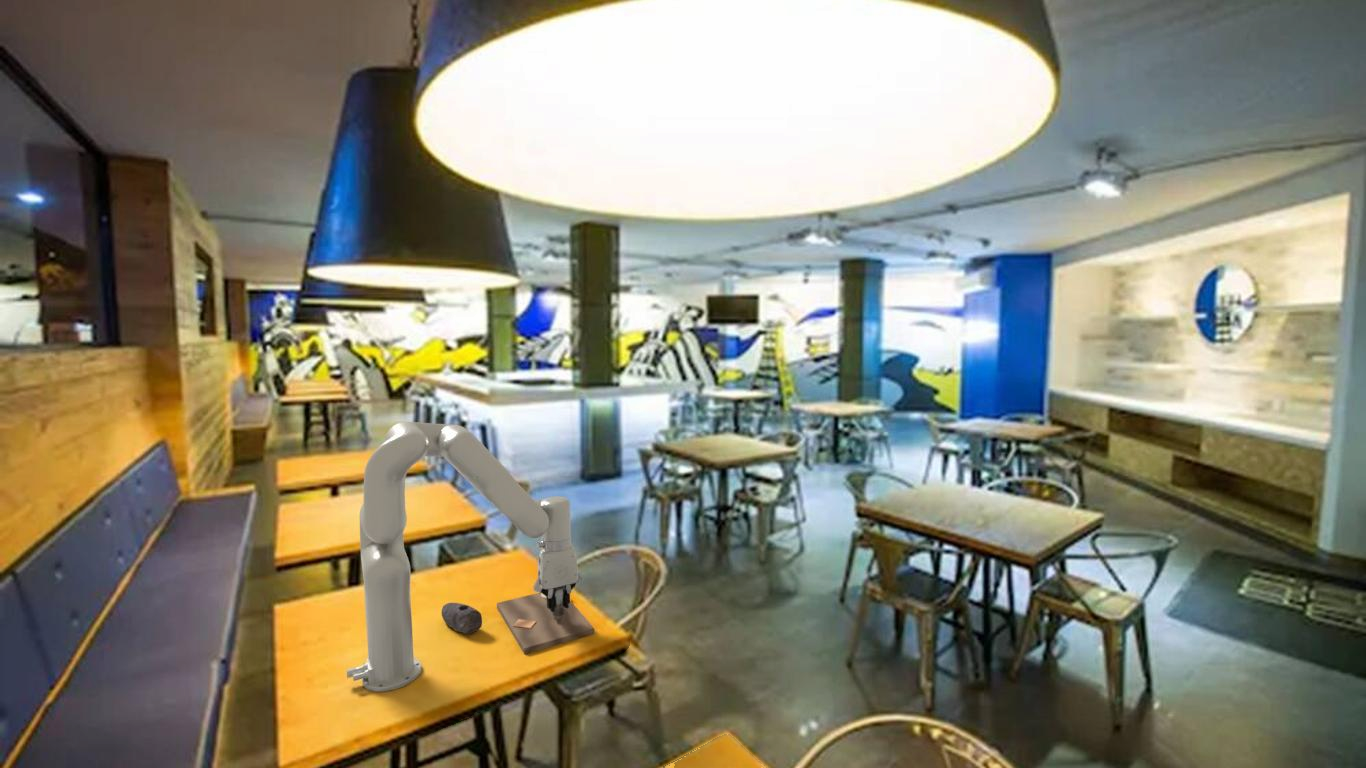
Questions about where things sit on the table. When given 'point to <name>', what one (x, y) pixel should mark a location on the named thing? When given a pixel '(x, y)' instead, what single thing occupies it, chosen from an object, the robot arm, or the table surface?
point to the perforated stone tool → (462, 617)
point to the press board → (542, 623)
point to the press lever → (558, 602)
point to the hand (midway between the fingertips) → (558, 607)
